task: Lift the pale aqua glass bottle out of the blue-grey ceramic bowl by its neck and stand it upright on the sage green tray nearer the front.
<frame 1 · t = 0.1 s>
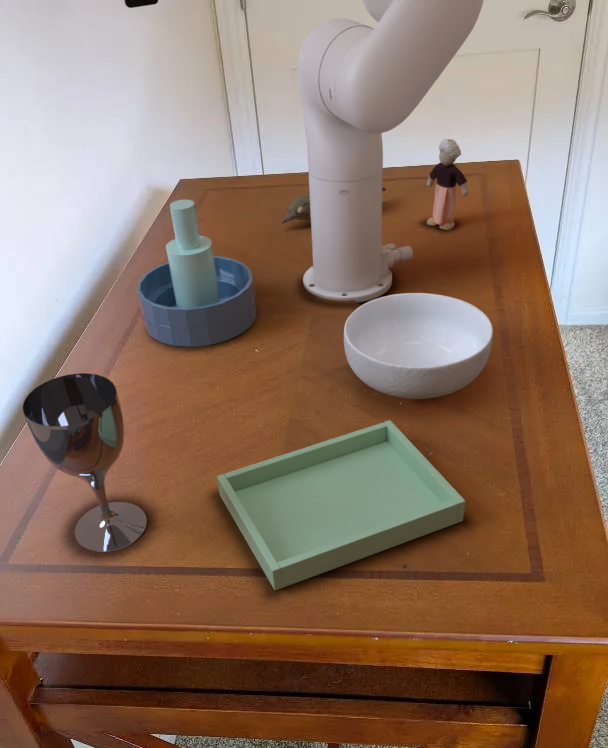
tray: (337, 507, 76), on the table
bottle: (200, 317, 103), point 1 cm above the table, touching bowl
decorative bird model: (336, 218, 127), on the table
wine glass: (111, 527, 76), on the table
cereal bowl: (415, 381, 91), on the table
grandmother figurine: (443, 226, 122), on the table
bowl: (201, 323, 104), on the table
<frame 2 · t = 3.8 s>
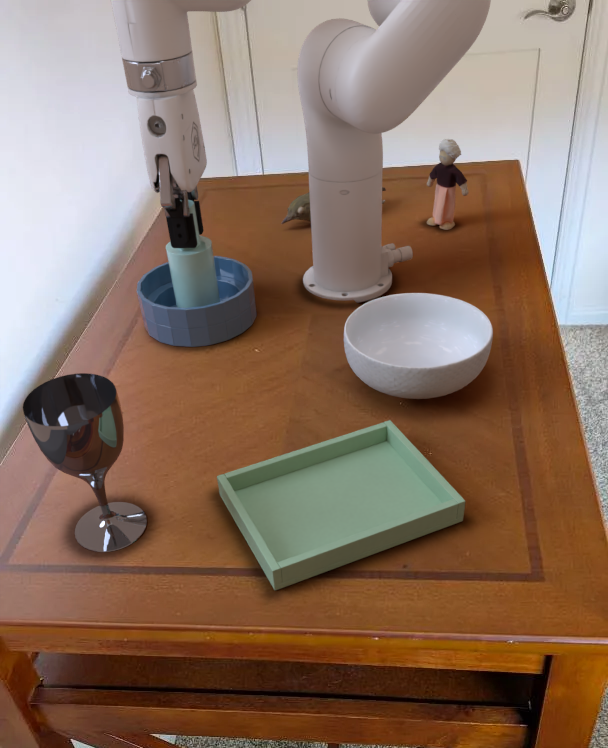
hand: (187, 239, 96), 12 cm above the table, tool pointing down, fingers closed on bottle, 3 cm apart
bottle: (200, 317, 103), point 1 cm above the table, touching bowl, gripper
everything else where it was.
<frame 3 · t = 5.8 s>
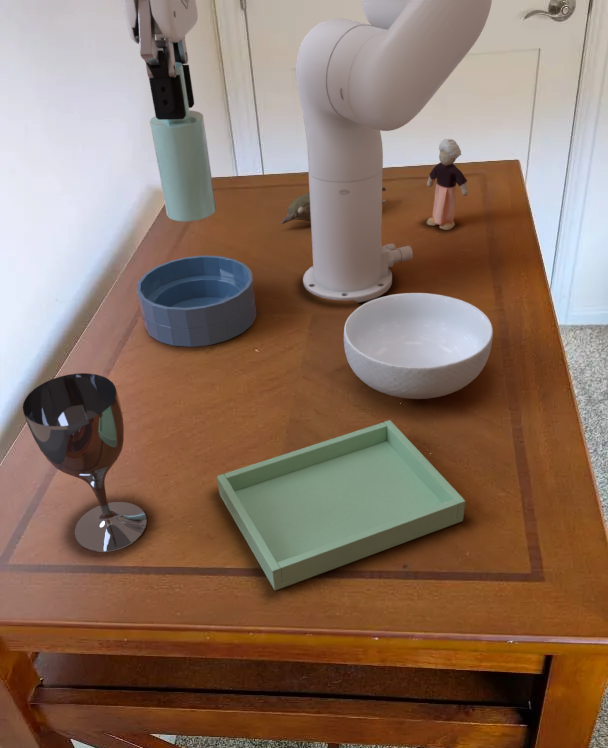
hand: (175, 111, 83), 27 cm above the table, tool pointing down, fingers closed on bottle, 3 cm apart
bottle: (191, 211, 90), point 16 cm above the table, touching gripper
everything else where it was.
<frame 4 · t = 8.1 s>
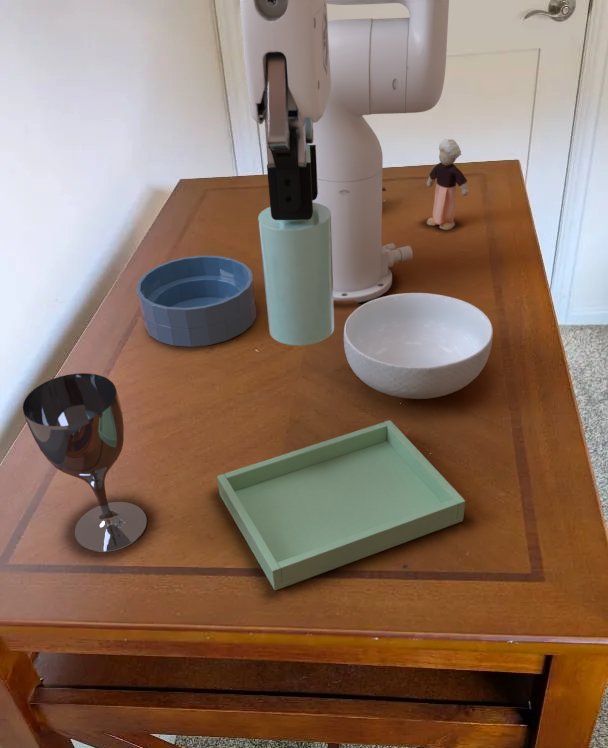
hand: (295, 206, 61), 27 cm above the table, tool pointing down, fingers closed on bottle, 3 cm apart
bottle: (301, 328, 68), point 17 cm above the table, touching gripper
everything else where it was.
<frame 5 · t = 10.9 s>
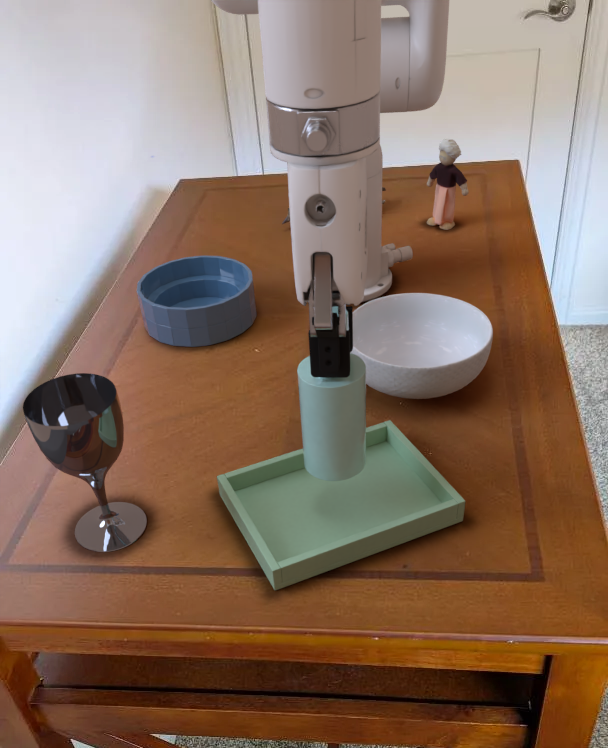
hand: (332, 361, 64), 17 cm above the table, tool pointing down, fingers closed on bottle, 3 cm apart
bottle: (334, 461, 72), point 6 cm above the table, touching gripper
everything else where it was.
when the fingers open (11 cm above the table, at t = 12.5 s): bottle stays where it is, resting on tray.
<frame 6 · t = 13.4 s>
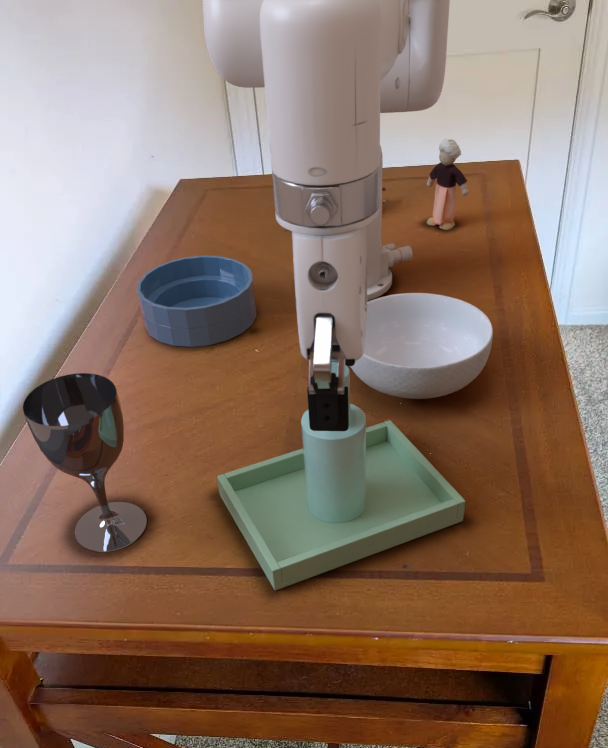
hand: (333, 395, 67), 13 cm above the table, tool pointing down, fingers open, 9 cm apart
bottle: (336, 503, 76), point 1 cm above the table, touching tray
everything else where it was.
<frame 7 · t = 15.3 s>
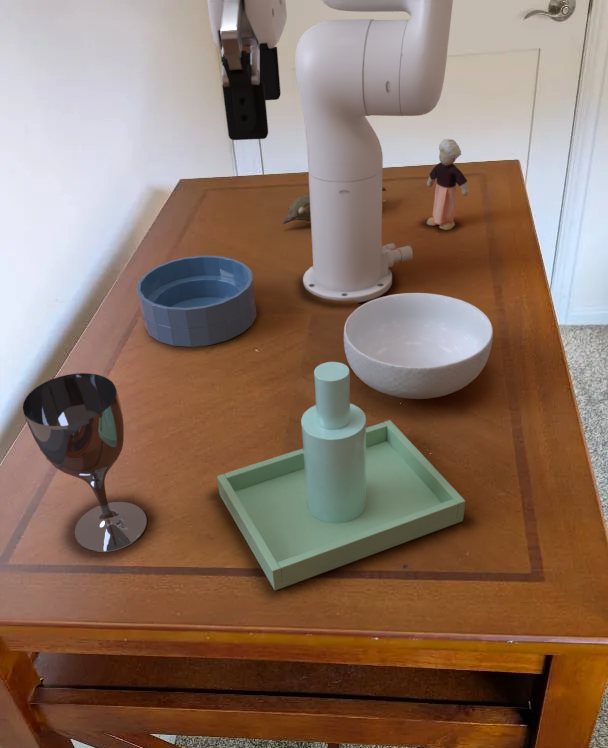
hand: (256, 117, 66), 31 cm above the table, tool pointing down, fingers open, 9 cm apart
nothing on the table moved.
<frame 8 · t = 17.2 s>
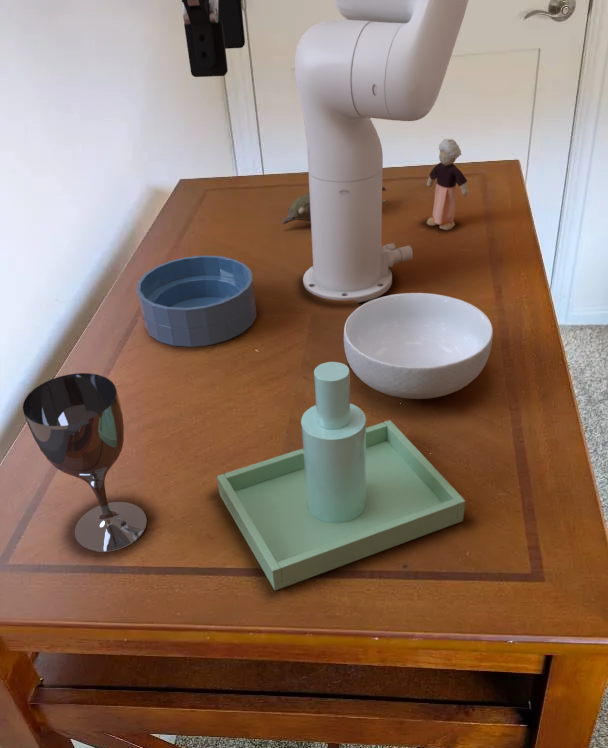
hand: (219, 60, 71), 33 cm above the table, tool pointing down, fingers open, 9 cm apart
nothing on the table moved.
at the end: bottle inside the target area in the tray (0.1 cm from its centre), point 0.6 cm above the tray's base; bottle tilted 0°; the gripper is holding nothing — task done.
